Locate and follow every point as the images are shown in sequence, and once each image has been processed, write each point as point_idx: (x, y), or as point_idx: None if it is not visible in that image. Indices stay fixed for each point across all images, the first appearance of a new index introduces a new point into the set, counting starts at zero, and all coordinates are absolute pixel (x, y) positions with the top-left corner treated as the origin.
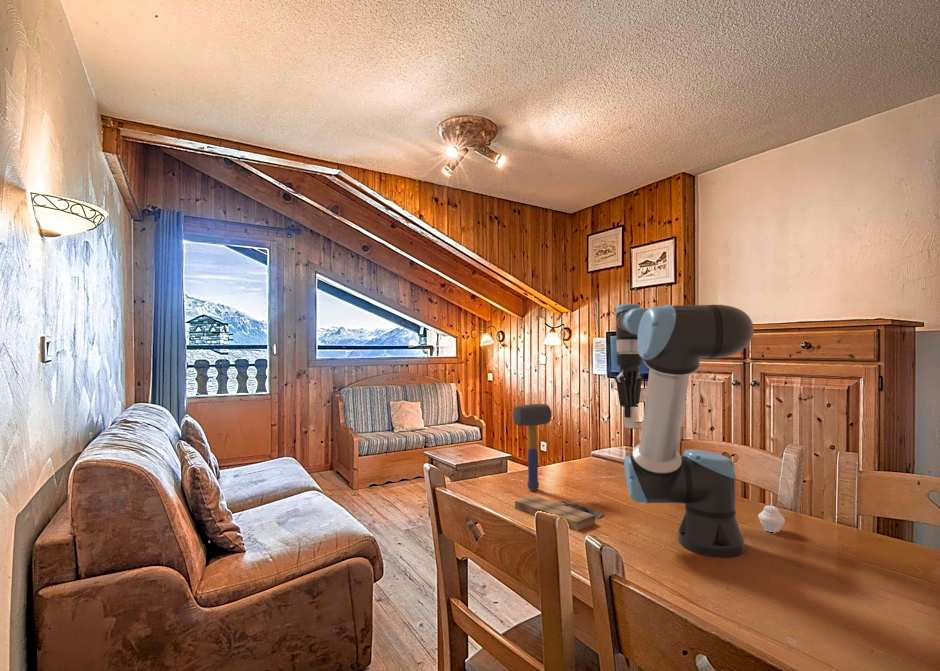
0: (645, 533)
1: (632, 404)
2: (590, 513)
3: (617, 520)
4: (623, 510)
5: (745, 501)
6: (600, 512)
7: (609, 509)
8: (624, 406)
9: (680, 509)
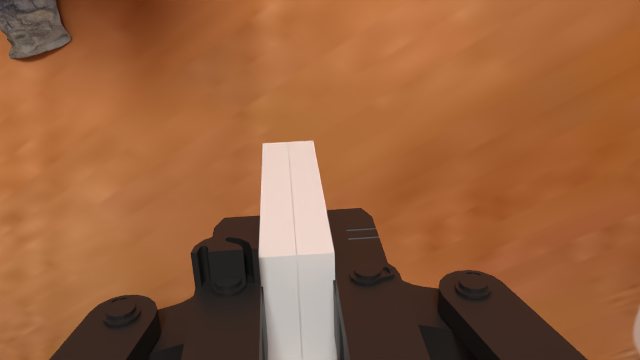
0: (63, 248)
1: (340, 357)
2: (8, 6)
3: (71, 117)
4: (188, 63)
5: (634, 289)
6: (60, 27)
7: (145, 14)
8: (183, 314)
9: (382, 198)
